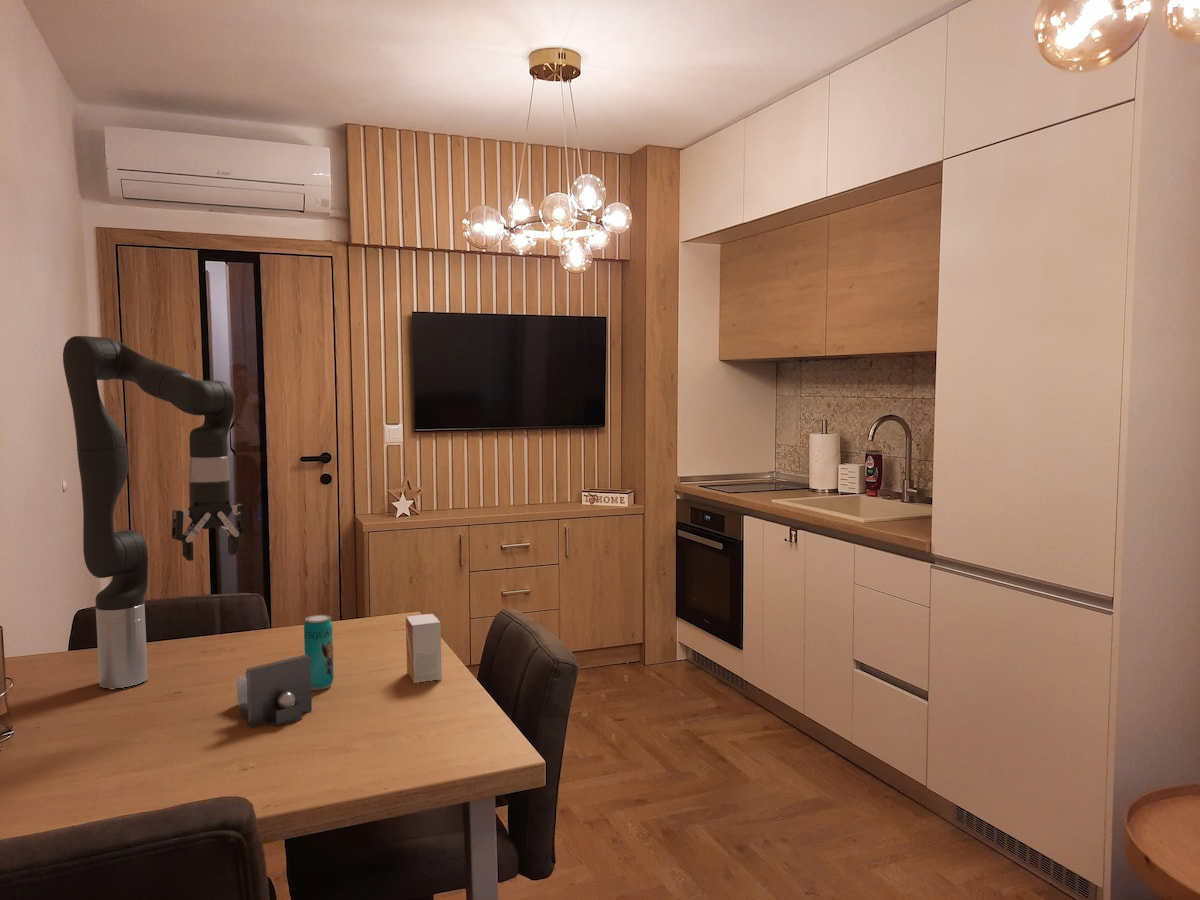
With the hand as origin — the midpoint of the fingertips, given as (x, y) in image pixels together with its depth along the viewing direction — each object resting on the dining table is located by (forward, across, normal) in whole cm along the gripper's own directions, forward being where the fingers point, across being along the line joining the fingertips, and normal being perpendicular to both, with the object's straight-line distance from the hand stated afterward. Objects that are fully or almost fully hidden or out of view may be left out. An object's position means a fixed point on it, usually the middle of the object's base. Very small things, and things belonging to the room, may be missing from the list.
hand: (211, 557), depth 174 cm
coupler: (+29, -4, +20) cm, 35 cm away
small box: (+29, -37, +21) cm, 52 cm away
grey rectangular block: (+29, -4, +14) cm, 33 cm away
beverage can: (+29, -18, +10) cm, 36 cm away
